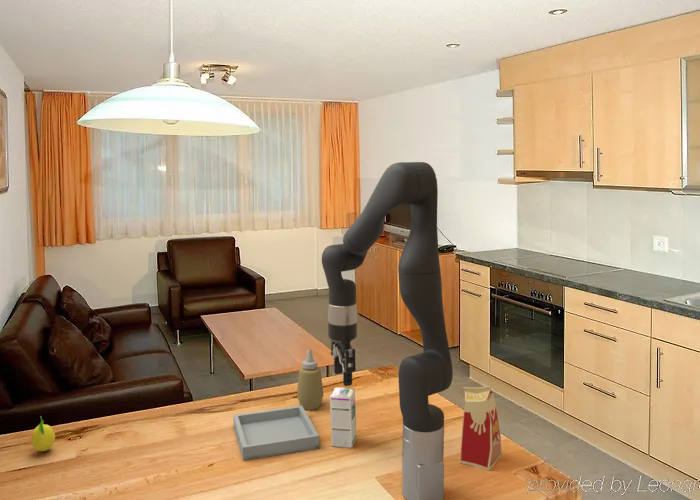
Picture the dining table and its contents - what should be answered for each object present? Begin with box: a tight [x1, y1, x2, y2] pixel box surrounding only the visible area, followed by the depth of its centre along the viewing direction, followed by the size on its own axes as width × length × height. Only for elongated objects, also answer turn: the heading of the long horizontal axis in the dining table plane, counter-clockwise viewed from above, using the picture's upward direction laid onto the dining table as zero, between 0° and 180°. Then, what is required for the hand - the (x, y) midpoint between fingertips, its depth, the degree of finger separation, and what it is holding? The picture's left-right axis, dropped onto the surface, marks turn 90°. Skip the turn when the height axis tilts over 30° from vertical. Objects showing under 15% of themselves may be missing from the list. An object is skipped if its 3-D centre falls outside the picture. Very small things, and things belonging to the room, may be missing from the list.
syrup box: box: [329, 386, 357, 449], centre depth 161 cm, size 6×6×14 cm
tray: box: [232, 405, 320, 461], centre depth 165 cm, size 20×20×4 cm
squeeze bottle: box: [296, 349, 324, 411], centre depth 183 cm, size 8×8×18 cm
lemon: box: [30, 415, 56, 452], centre depth 157 cm, size 7×6×10 cm
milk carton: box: [459, 385, 503, 472], centre depth 151 cm, size 9×9×20 cm
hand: (342, 379), depth 159 cm, fingers open, 8 cm apart
